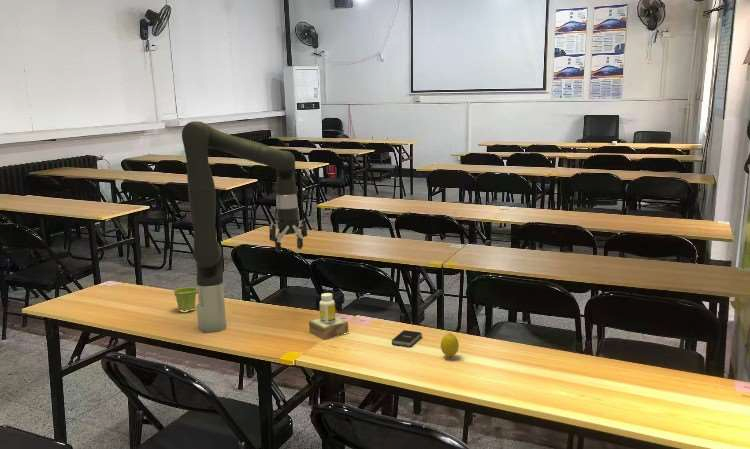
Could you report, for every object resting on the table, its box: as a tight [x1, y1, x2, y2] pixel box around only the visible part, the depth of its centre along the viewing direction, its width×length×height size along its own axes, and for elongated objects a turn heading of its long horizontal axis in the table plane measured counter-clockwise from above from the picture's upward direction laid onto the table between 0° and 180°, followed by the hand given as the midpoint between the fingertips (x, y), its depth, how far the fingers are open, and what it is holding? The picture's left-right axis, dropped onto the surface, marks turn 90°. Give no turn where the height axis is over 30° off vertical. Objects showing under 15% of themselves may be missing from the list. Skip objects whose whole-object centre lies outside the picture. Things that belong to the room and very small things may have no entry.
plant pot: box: [173, 286, 198, 311], centre depth 242 cm, size 9×9×9 cm
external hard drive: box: [391, 329, 423, 348], centre depth 203 cm, size 7×11×2 cm, turn 155°
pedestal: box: [308, 316, 349, 341], centre depth 212 cm, size 10×10×4 cm
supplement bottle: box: [319, 292, 336, 323], centre depth 211 cm, size 5×5×10 cm
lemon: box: [440, 332, 460, 358], centre depth 187 cm, size 6×6×8 cm
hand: (289, 250), depth 218 cm, fingers open, 8 cm apart
